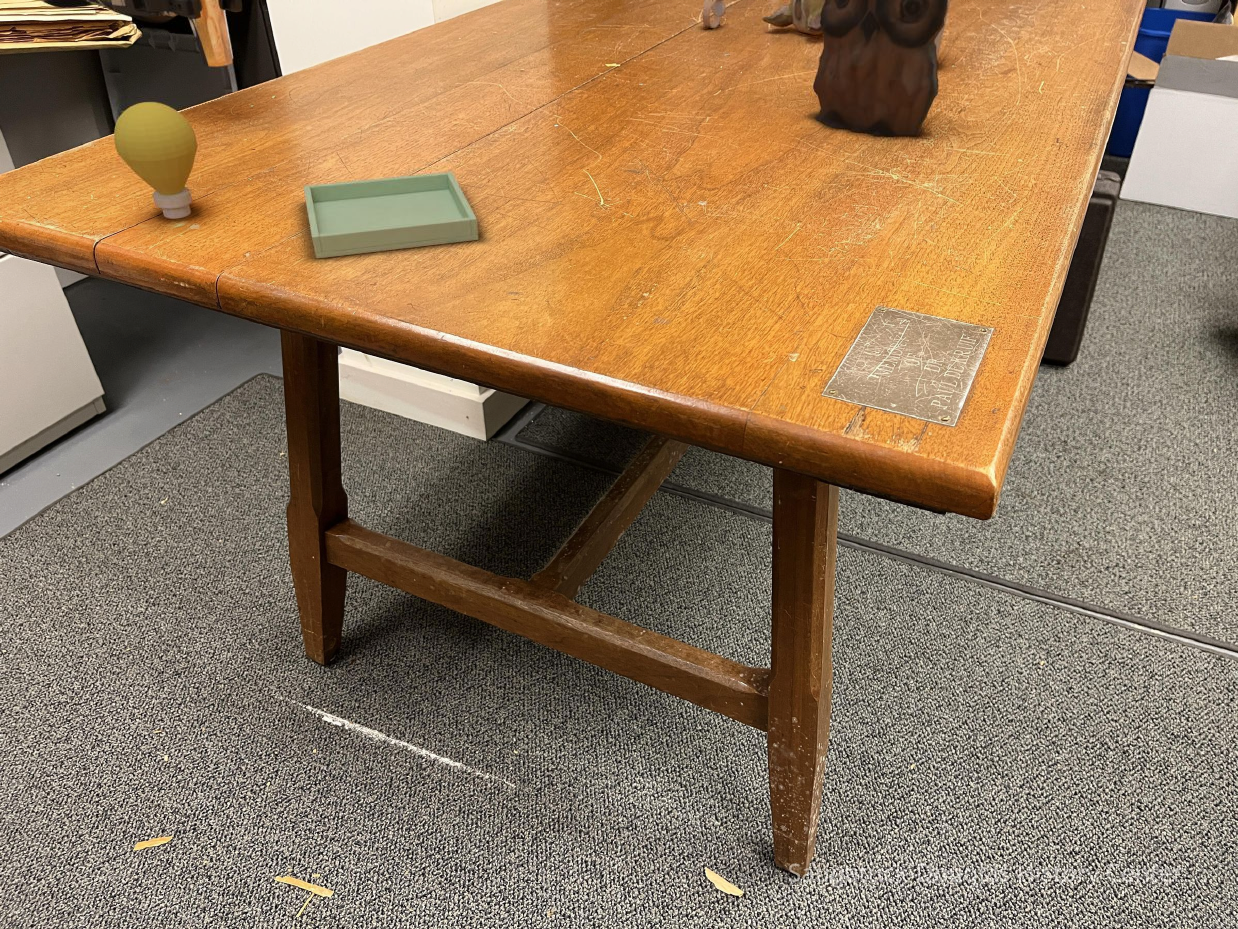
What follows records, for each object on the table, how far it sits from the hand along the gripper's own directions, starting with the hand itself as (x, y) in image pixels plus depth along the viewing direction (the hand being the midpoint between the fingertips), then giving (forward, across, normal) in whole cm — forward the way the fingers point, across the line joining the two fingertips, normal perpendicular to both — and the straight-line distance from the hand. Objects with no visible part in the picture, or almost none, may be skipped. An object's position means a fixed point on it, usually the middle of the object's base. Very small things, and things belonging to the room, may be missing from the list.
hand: (217, 4), depth 99 cm
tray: (+36, -9, +12) cm, 39 cm away
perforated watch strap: (+15, +79, +12) cm, 81 cm away
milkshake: (-3, 0, +7) cm, 7 cm away
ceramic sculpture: (+29, +87, +12) cm, 93 cm away
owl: (+58, +50, +12) cm, 77 cm away
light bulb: (+19, -20, +13) cm, 31 cm away
